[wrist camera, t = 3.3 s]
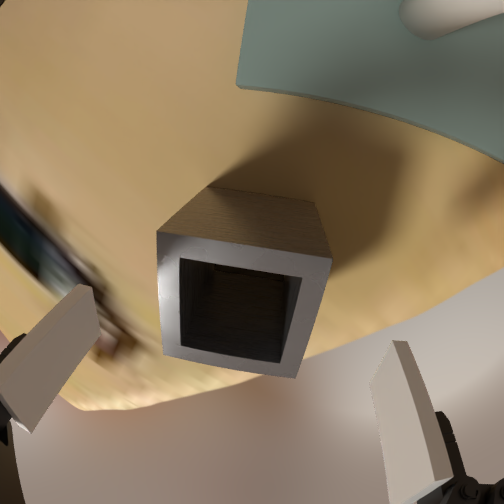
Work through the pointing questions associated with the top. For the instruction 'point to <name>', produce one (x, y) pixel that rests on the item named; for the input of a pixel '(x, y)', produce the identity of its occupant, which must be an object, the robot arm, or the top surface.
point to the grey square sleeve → (241, 280)
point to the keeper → (386, 60)
